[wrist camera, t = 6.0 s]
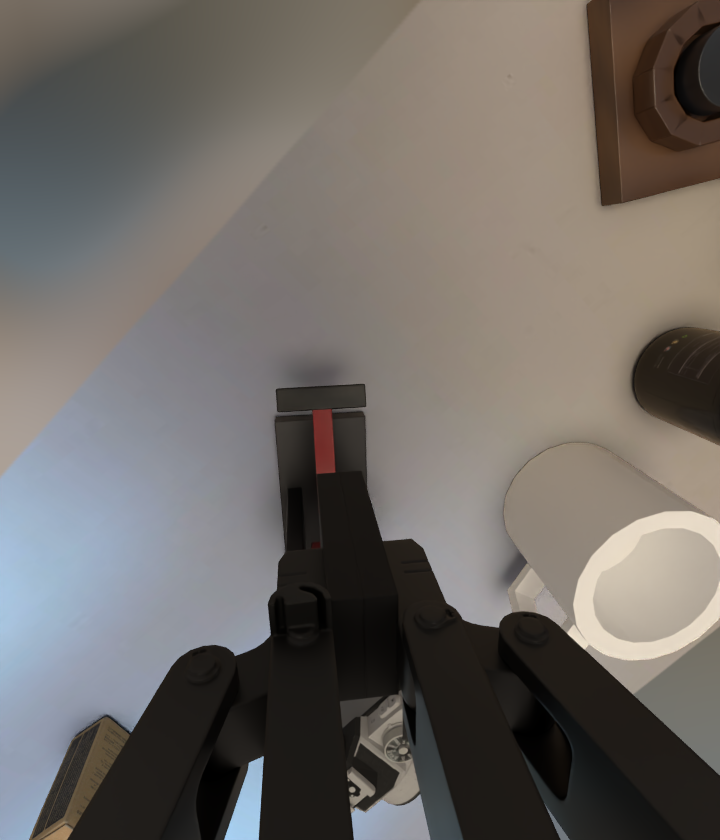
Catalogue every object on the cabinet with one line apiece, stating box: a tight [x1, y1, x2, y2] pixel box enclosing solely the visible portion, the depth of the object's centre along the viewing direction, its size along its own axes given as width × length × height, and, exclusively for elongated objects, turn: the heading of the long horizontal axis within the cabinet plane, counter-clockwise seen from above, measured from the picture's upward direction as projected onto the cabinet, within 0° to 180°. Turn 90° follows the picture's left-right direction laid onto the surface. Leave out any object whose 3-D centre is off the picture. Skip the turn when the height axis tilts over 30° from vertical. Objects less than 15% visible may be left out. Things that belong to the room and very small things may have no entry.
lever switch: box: [275, 412, 367, 553], centre depth 33 cm, size 14×6×10 cm, turn 2°
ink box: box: [29, 717, 130, 840], centre depth 39 cm, size 10×4×8 cm, turn 33°
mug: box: [503, 443, 720, 660], centre depth 35 cm, size 14×10×11 cm
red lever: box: [276, 384, 366, 549], centre depth 30 cm, size 12×5×2 cm, turn 1°
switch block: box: [587, 0, 720, 206], centre depth 30 cm, size 11×9×4 cm
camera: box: [340, 683, 420, 813], centre depth 39 cm, size 16×9×10 cm, turn 135°
